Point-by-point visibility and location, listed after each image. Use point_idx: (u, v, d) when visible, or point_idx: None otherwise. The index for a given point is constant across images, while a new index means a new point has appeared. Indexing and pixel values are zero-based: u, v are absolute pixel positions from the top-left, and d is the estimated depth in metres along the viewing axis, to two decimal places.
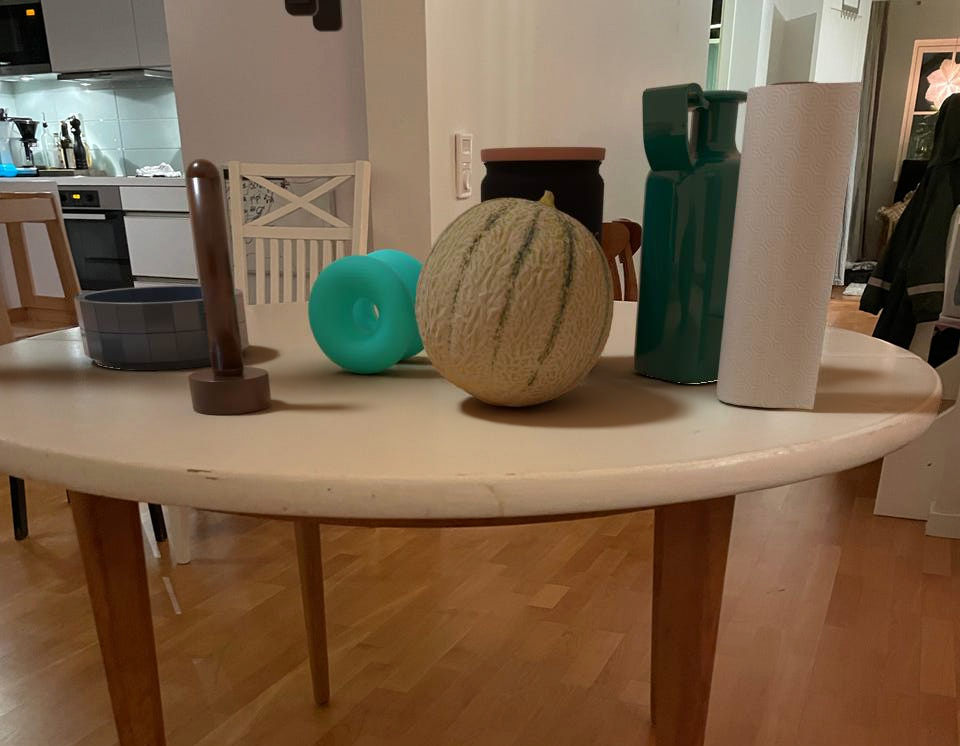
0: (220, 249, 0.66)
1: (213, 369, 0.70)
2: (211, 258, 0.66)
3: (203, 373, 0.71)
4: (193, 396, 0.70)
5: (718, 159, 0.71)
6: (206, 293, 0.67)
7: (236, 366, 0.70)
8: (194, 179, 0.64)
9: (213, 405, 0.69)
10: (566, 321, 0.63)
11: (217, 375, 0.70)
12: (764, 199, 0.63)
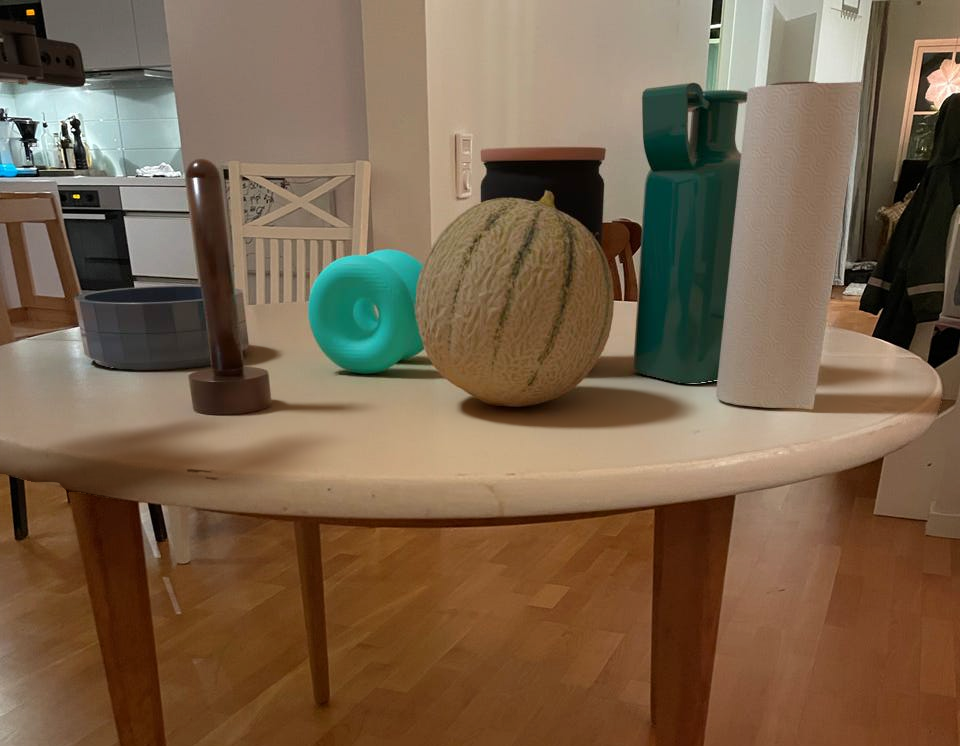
0: (220, 249, 0.66)
1: (213, 369, 0.70)
2: (211, 258, 0.66)
3: (203, 373, 0.71)
4: (193, 396, 0.70)
5: (718, 159, 0.71)
6: (206, 293, 0.67)
7: (236, 366, 0.70)
8: (194, 179, 0.64)
9: (213, 405, 0.69)
10: (566, 321, 0.63)
11: (217, 375, 0.70)
12: (764, 199, 0.63)
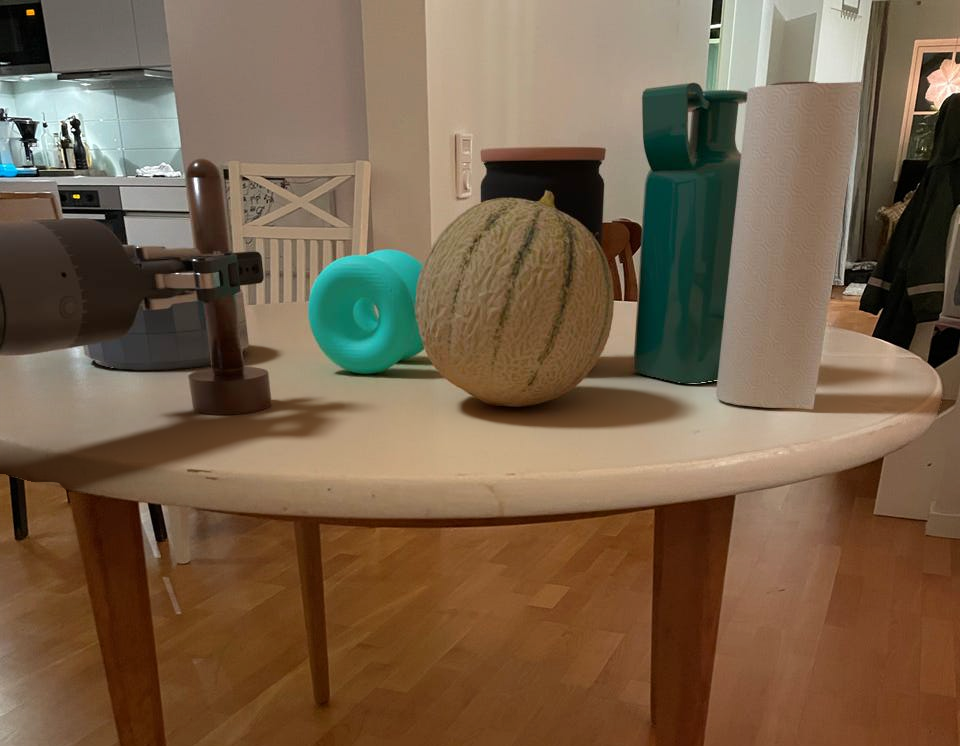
0: (220, 249, 0.66)
1: (213, 369, 0.70)
2: None
3: (203, 373, 0.71)
4: (193, 396, 0.70)
5: (718, 159, 0.71)
6: None
7: (236, 366, 0.70)
8: (194, 179, 0.64)
9: (213, 405, 0.69)
10: (566, 321, 0.63)
11: (217, 375, 0.70)
12: (764, 199, 0.63)
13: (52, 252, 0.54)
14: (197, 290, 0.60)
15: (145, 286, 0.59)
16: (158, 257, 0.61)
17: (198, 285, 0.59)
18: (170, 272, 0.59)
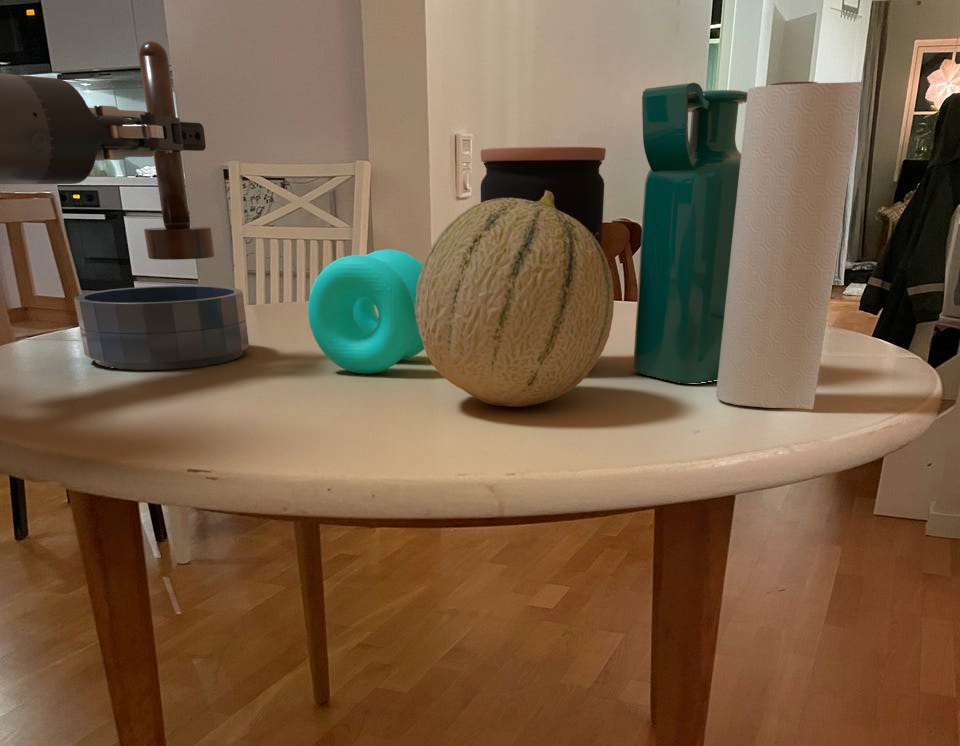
0: None
1: (164, 223, 0.84)
2: None
3: (157, 228, 0.85)
4: (148, 245, 0.84)
5: (718, 159, 0.71)
6: (157, 156, 0.82)
7: (183, 220, 0.84)
8: (145, 57, 0.78)
9: (163, 251, 0.84)
10: (566, 321, 0.63)
11: (168, 228, 0.84)
12: (764, 199, 0.63)
13: (26, 96, 0.68)
14: (144, 139, 0.74)
15: (102, 134, 0.73)
16: (114, 115, 0.76)
17: (145, 134, 0.74)
18: (122, 124, 0.74)
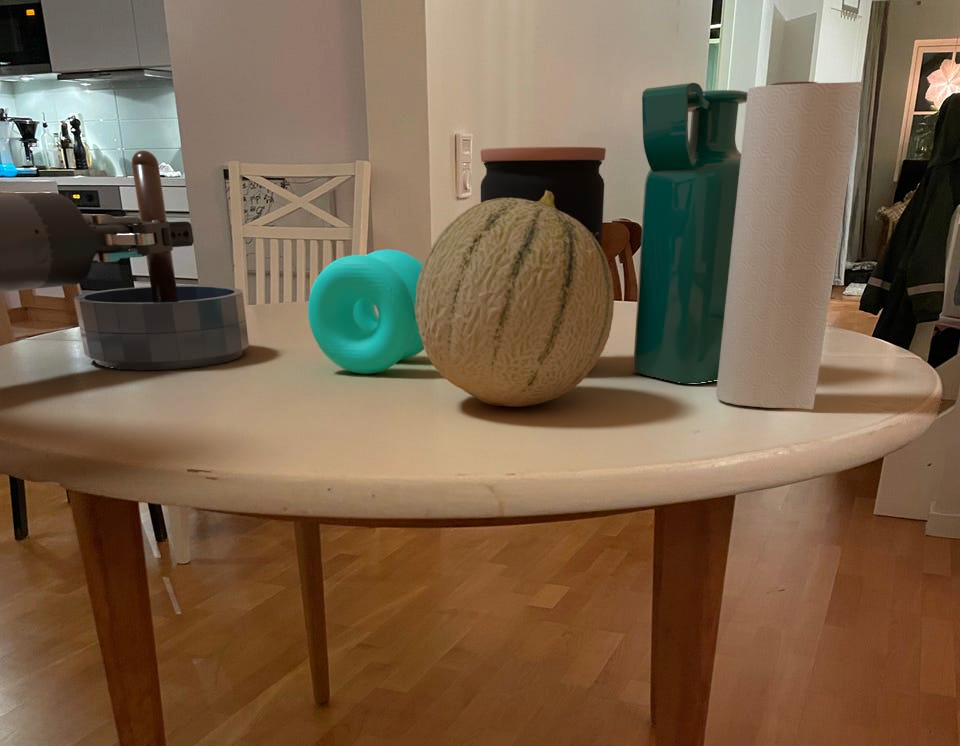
0: (158, 219, 0.88)
1: None
2: None
3: None
4: None
5: (718, 159, 0.71)
6: None
7: None
8: (137, 165, 0.85)
9: None
10: (566, 321, 0.63)
11: None
12: (764, 199, 0.63)
13: (28, 215, 0.75)
14: (136, 246, 0.81)
15: (98, 242, 0.80)
16: (109, 222, 0.83)
17: (137, 242, 0.81)
18: (116, 233, 0.81)
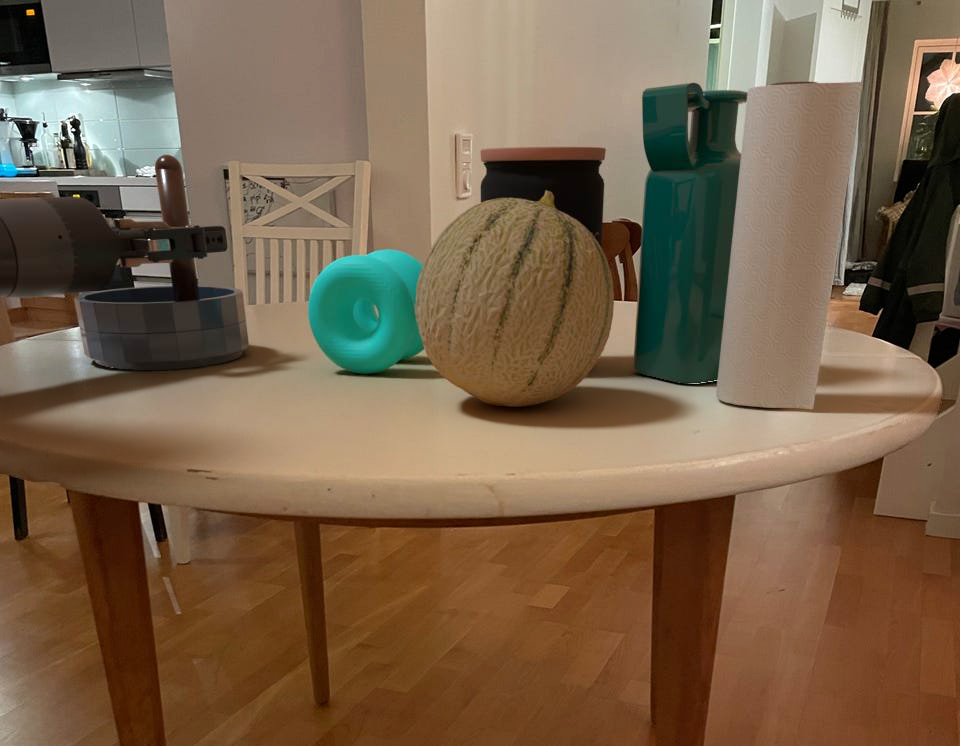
0: (182, 224, 0.86)
1: None
2: None
3: None
4: None
5: (718, 159, 0.71)
6: None
7: None
8: (161, 170, 0.83)
9: None
10: (566, 321, 0.63)
11: None
12: (764, 199, 0.63)
13: (51, 220, 0.74)
14: (147, 252, 0.78)
15: (121, 247, 0.78)
16: (129, 227, 0.80)
17: (146, 248, 0.78)
18: (140, 237, 0.79)
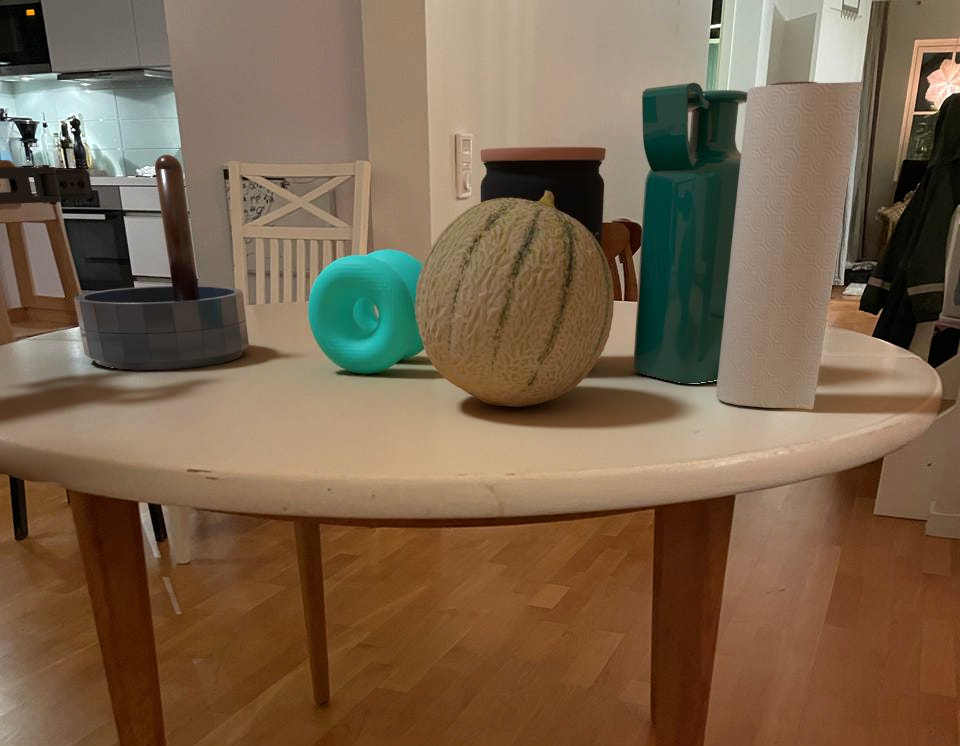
0: (182, 224, 0.86)
1: None
2: (175, 231, 0.86)
3: None
4: None
5: (718, 159, 0.71)
6: (172, 259, 0.87)
7: None
8: (161, 170, 0.83)
9: None
10: (566, 321, 0.63)
11: None
12: (764, 199, 0.63)
13: None
14: None
15: None
16: None
17: None
18: None
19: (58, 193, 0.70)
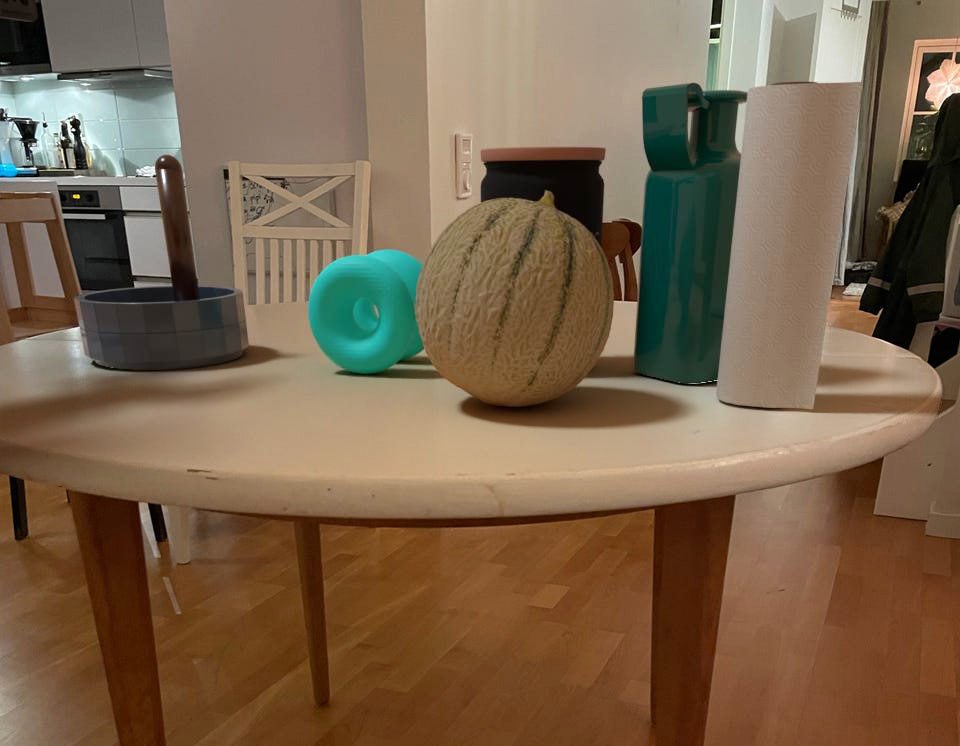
0: (182, 224, 0.86)
1: None
2: (175, 231, 0.86)
3: None
4: None
5: (718, 159, 0.71)
6: (172, 259, 0.87)
7: None
8: (161, 170, 0.83)
9: None
10: (566, 321, 0.63)
11: None
12: (764, 199, 0.63)
13: None
14: None
15: None
16: None
17: None
18: None
19: None
